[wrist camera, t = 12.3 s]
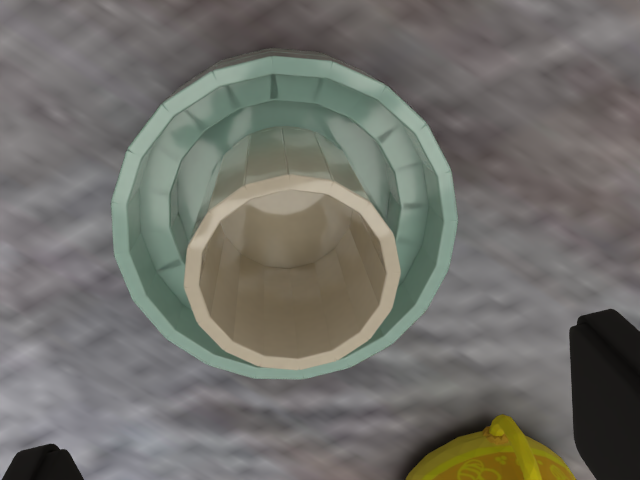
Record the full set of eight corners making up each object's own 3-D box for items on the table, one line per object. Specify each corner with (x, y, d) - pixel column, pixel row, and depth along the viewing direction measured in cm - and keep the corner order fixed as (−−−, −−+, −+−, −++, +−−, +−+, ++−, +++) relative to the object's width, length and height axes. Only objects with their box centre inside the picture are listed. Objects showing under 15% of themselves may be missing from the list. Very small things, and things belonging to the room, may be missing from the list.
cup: (187, 147, 24) (153, 207, 17) (344, 108, 24) (378, 151, 17) (232, 286, 27) (221, 390, 20) (373, 251, 27) (415, 342, 20)
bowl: (94, 90, 24) (53, 110, 19) (398, 14, 24) (430, 15, 19) (192, 346, 29) (178, 410, 24) (441, 285, 29) (475, 337, 24)
